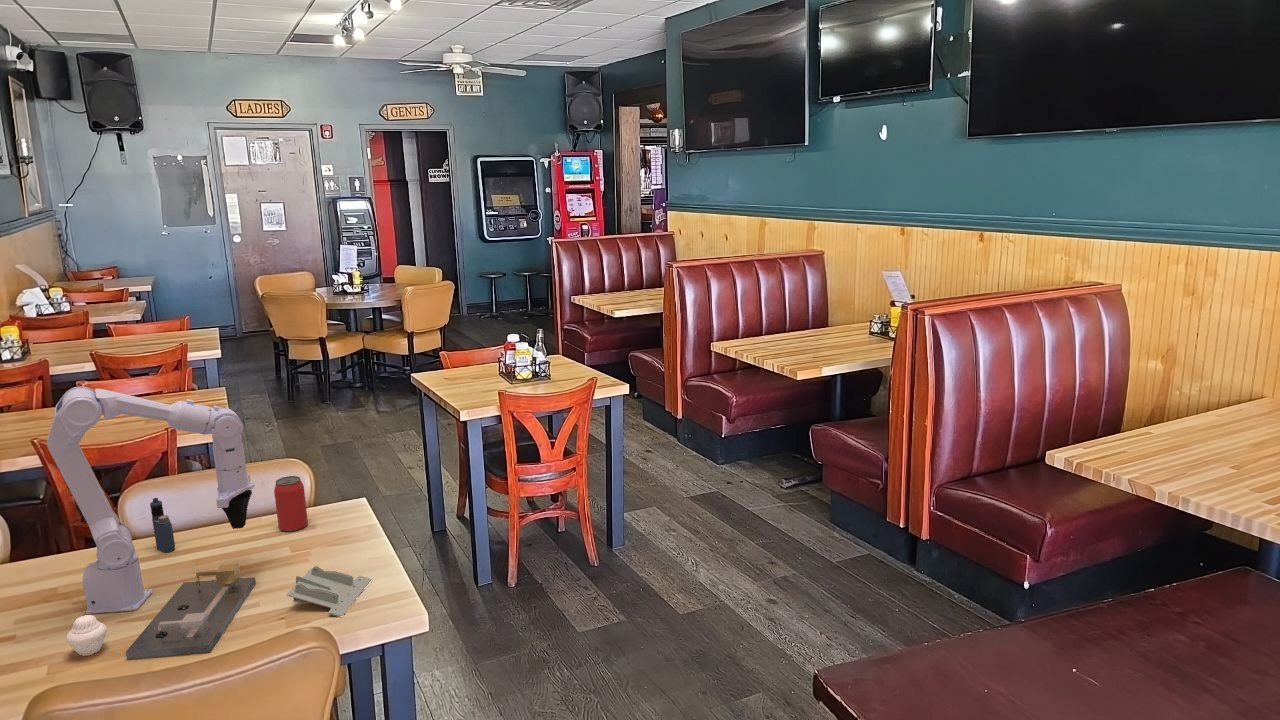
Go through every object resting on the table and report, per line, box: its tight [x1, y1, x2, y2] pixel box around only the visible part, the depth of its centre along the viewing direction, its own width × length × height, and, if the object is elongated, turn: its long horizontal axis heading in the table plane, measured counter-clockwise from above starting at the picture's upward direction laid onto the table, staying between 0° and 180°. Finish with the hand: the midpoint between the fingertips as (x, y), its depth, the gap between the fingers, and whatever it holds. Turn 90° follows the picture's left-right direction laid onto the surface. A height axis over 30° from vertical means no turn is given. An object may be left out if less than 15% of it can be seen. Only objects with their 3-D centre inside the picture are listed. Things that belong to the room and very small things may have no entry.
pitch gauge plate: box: [125, 576, 257, 660], centre depth 164 cm, size 14×26×4 cm, turn 7°
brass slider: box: [195, 563, 242, 586], centre depth 173 cm, size 8×3×3 cm, turn 97°
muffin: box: [66, 614, 108, 657], centre depth 153 cm, size 6×6×7 cm
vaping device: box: [149, 497, 176, 553], centre depth 193 cm, size 3×5×12 cm, turn 54°
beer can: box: [273, 475, 309, 532], centre depth 204 cm, size 7×7×12 cm
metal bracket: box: [286, 565, 372, 617], centre depth 171 cm, size 14×6×15 cm
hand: (239, 526), depth 180 cm, fingers closed
